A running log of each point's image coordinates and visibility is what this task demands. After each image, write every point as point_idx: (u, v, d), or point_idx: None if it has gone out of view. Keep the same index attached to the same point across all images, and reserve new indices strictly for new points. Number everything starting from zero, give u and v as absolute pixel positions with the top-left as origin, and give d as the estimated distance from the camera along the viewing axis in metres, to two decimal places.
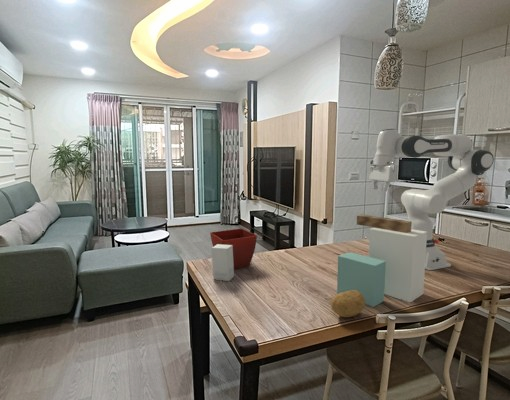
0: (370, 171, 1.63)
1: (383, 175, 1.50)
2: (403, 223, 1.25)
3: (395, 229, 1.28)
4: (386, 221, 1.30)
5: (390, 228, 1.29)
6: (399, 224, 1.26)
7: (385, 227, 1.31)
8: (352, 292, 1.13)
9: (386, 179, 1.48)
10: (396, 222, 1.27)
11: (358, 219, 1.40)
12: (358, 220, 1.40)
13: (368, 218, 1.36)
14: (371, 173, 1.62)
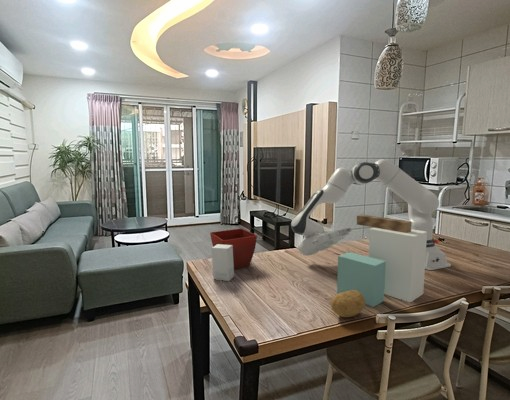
0: (342, 237, 1.59)
1: (328, 241, 1.50)
2: (403, 223, 1.25)
3: (395, 229, 1.28)
4: (386, 221, 1.30)
5: (390, 228, 1.29)
6: (399, 224, 1.26)
7: (385, 227, 1.31)
8: (352, 292, 1.13)
9: (327, 241, 1.46)
10: (396, 222, 1.27)
11: (358, 219, 1.40)
12: (358, 220, 1.40)
13: (368, 218, 1.36)
14: (342, 237, 1.58)
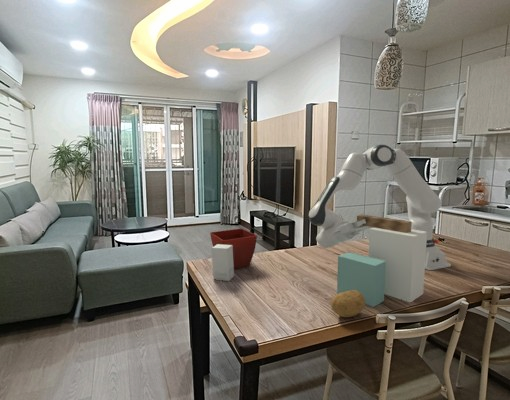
0: (364, 228, 1.49)
1: (351, 231, 1.40)
2: (403, 223, 1.25)
3: (395, 229, 1.28)
4: (386, 221, 1.30)
5: (390, 228, 1.29)
6: (399, 224, 1.26)
7: (385, 227, 1.31)
8: (352, 292, 1.13)
9: (350, 231, 1.37)
10: (396, 222, 1.27)
11: (358, 219, 1.40)
12: (358, 220, 1.40)
13: (368, 218, 1.36)
14: (365, 227, 1.48)
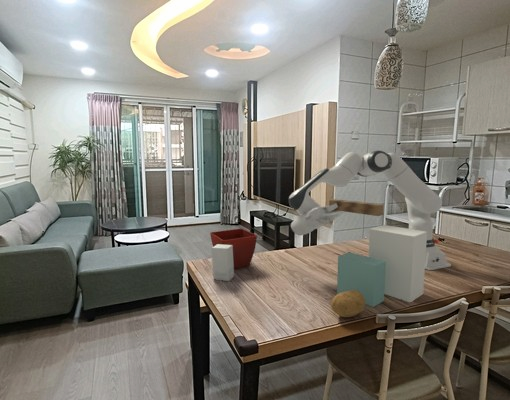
0: (339, 214, 1.43)
1: (323, 216, 1.33)
2: (374, 206, 1.18)
3: (366, 213, 1.21)
4: (358, 204, 1.24)
5: (361, 212, 1.23)
6: (370, 207, 1.20)
7: (357, 211, 1.24)
8: (352, 292, 1.13)
9: (321, 215, 1.30)
10: (367, 205, 1.20)
11: (330, 204, 1.33)
12: (330, 205, 1.33)
13: (340, 202, 1.30)
14: (339, 213, 1.41)
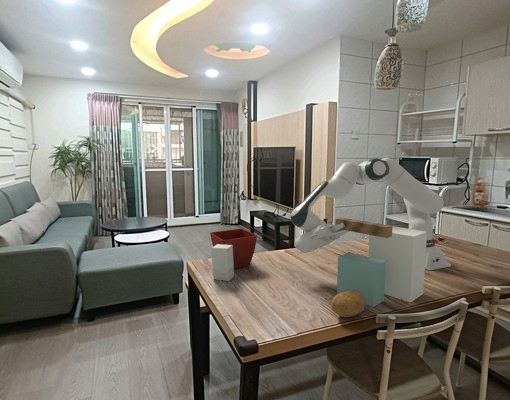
0: (345, 232, 1.39)
1: (329, 235, 1.30)
2: (383, 227, 1.15)
3: (374, 234, 1.17)
4: (365, 225, 1.20)
5: (369, 233, 1.19)
6: (379, 228, 1.16)
7: (364, 232, 1.20)
8: (352, 292, 1.13)
9: (327, 235, 1.26)
10: (375, 226, 1.17)
11: (337, 222, 1.30)
12: (337, 223, 1.30)
13: (347, 221, 1.26)
14: (345, 231, 1.38)
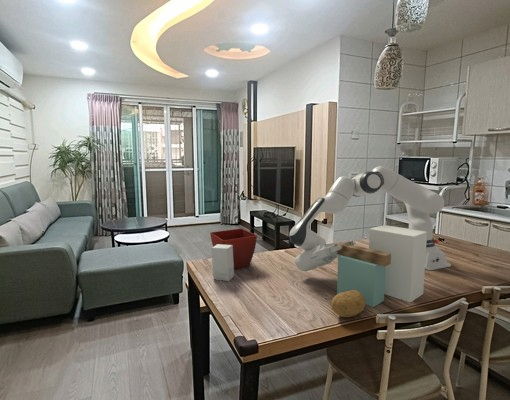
0: None
1: (328, 256, 1.31)
2: (382, 256, 1.16)
3: (373, 261, 1.19)
4: (364, 252, 1.21)
5: (368, 260, 1.20)
6: (377, 256, 1.17)
7: (363, 258, 1.22)
8: (352, 292, 1.13)
9: (327, 256, 1.27)
10: (374, 254, 1.18)
11: None
12: None
13: (346, 247, 1.27)
14: None
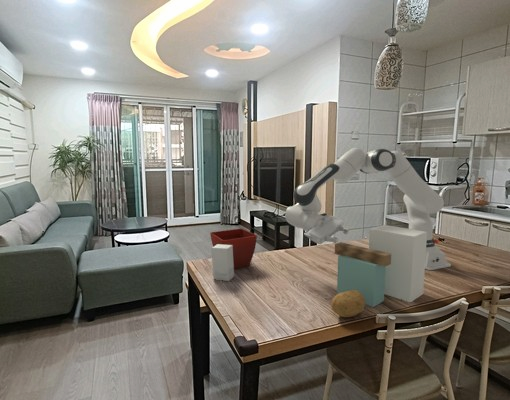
0: None
1: None
2: (382, 256, 1.16)
3: (374, 261, 1.19)
4: (364, 252, 1.21)
5: (368, 260, 1.20)
6: (378, 256, 1.17)
7: (363, 258, 1.22)
8: (352, 292, 1.13)
9: None
10: (375, 254, 1.18)
11: (336, 248, 1.31)
12: (336, 249, 1.31)
13: (346, 247, 1.27)
14: None
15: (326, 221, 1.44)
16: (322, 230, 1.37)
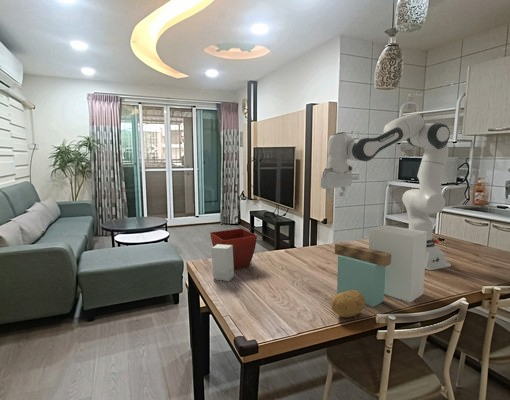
0: None
1: None
2: (382, 256, 1.16)
3: (374, 261, 1.19)
4: (364, 252, 1.21)
5: (368, 260, 1.20)
6: (378, 256, 1.17)
7: (363, 258, 1.22)
8: (352, 292, 1.13)
9: None
10: (375, 254, 1.18)
11: (336, 248, 1.31)
12: (336, 249, 1.31)
13: (346, 247, 1.27)
14: None
15: (344, 174, 1.50)
16: (334, 181, 1.45)
